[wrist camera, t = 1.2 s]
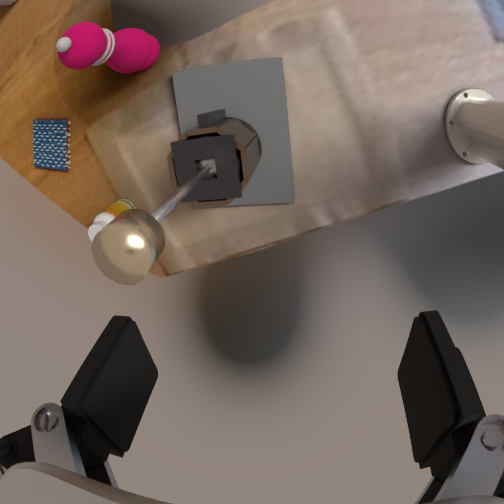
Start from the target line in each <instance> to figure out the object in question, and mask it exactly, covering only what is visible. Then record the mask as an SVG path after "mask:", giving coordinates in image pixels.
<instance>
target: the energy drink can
mask: <svg viewBox="0 0 504 504" xmlns="http://www.w3.org/2000/svg"><path fill="white" fill-rule="evenodd" d="M16 1H17V0H0V5H11V4H12V3H14V2H16Z"/></svg>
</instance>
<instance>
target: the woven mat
mask: <svg viewBox="0 0 504 504" xmlns="http://www.w3.org/2000/svg"><path fill="white" fill-rule="evenodd" d="M36 120H37V121H35V120H33V123H34V125H33V126H34V127H33V128H32V129H34V130H33V132H34V135H32V136H33V137H34V138H33V139H34V141H33V142H34V143H33V144H34V146H33V147H34V149H33V150H34V151H33V152H34V153H35V154H34V156H33V157H34V161H35V162H34V165H35V167H37V168H43V169H46V168H47V169H52V170H54V169H55V170H57V169H58V170H60V171H62V170H64V171H66V172H68V169H71V167H69V165H70V164H71V161H69V159H68V158H71V156H69V155H68V154H69V153H70V152H71V151H70V150H68V147H70V144H68V141H70V139H68V138H69V136H71V133H69V131H68V130H71V128H68V124H71V122H70V121H68V119H66V118H64V120H63V119H57V120H56V119H54V118H53V119H52V120H51V119H43V118H42V119H41V120H40V119H38V118H37V119H36ZM35 136H36V137H35ZM62 137H63V138H62ZM54 141H55V142H54ZM65 141H66V142H65ZM38 145H39V146H38ZM49 162H50V163H49ZM36 164H37V165H36ZM49 167H50V168H49Z"/></svg>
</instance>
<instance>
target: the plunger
mask: <svg viewBox="0 0 504 504" xmlns="http://www.w3.org/2000/svg"><path fill="white" fill-rule="evenodd" d="M204 137H210V136H204ZM200 138H203V137H200ZM237 157H238V155H237ZM238 165H239V173H240V161H239V158H238ZM196 166H197V172H196V173H195V174H194V175H193V176H192V177H191V178H190V179H189V180H187V181H186V182H185V183H184V184H183V185H182V186H181V187H180V188H178V189H177V190H176V191H175V192H174V193H173V194H172V195H171V196H170V197H169V198H168V199H167V200H165V201H164V202H163V203H162V204H161V205H160V206H159V207H158V208H157V209H156V210H155V211H154V212H153V213H152V214H149V213H147V212H146V211H143V210H140V209H127V210H125V211H123V212H122V213H120V214H119V215H118V216H117V217H116V218H114V219H113V220H112V221H111V222H110V223H108V224H107V225H106V226H105V227H104V228H103V229H101V230H100V231H99V232H98V233H97V234H96V235H95V237H94V239H93V242H92V253H93V257H94V260H95V262H96V264H97V266H98V267H99V269H100V270H101V271H102V272H103V273H104V274H105V275H106V276H107V277H108V278H110V279H111V280H113V281H115V282H117V283H119V284H124V285H133V284H136V283H138V282H140V281H141V280H142V279H143V278H144V277H145V275H146V274H147V272H148V271H149V270H150V268H151V267H152V266H153V264H154V263H155V261H156V260H157V259H158V257H159V256H160V255H161V253H162V252H163V250H164V246H165V235H164V232H163V229H162V227H161V225H160V224H159V223H160V222H161V221H162V220H163V219H164V218H165V217H166V216H167V214H168V213H169V212H170V211H171V210H172V209H173V208H174V207H175V206H176V205H177V204H178V203H179V202H180V201H181V200H182V199H183V198H184V197H185V196H186V195H187V194H188V193H189V192H190V191H191V190H192V189H193V188H194V187H195V186H196V185H197V184H198V182H199V181H201V180H202V179H208V178H217V171H216V165H215V158H212V159H203V160H196Z"/></svg>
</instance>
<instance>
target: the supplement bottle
mask: <svg viewBox="0 0 504 504" xmlns="http://www.w3.org/2000/svg"><path fill="white" fill-rule="evenodd" d="M127 209H136V208H135V206H134V204H133V203H132V202H130V201H129V200H126V199H119V200H117V201H115V202H114V203H113V204H111V205H110V206H109V207H108V208H106V209H105V210H104V211H102V212H101V213H100V214H98V215H97V216H96V217H95V219H94V222H93V224H92V225H91V226H90V227H89V230H88V235H89V238H90V240H91V241H92V242H93V239H94V237H95V235H96V234H97V233H98V232H99V231H100V230H101V229H103V228H104V227H105V226H106V225H107V224H108V223H110V222H111V221H112V220H113V219H114V218H116V217H117V216H118V215H119V214H120V213H122V212H123V211H125V210H127Z"/></svg>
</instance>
